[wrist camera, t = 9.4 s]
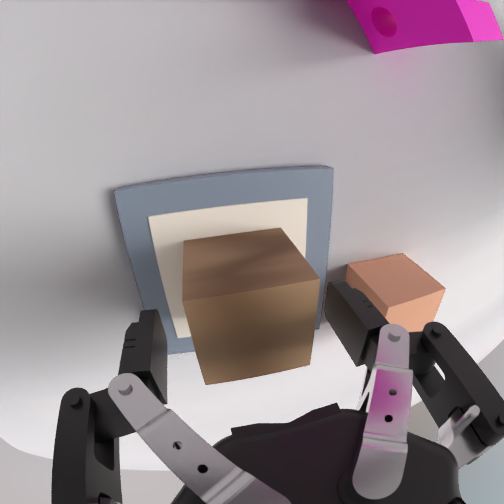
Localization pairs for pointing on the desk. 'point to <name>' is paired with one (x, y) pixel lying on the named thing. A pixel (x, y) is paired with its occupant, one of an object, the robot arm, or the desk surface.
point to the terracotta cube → (398, 289)
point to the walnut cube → (249, 304)
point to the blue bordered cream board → (219, 227)
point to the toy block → (424, 22)
